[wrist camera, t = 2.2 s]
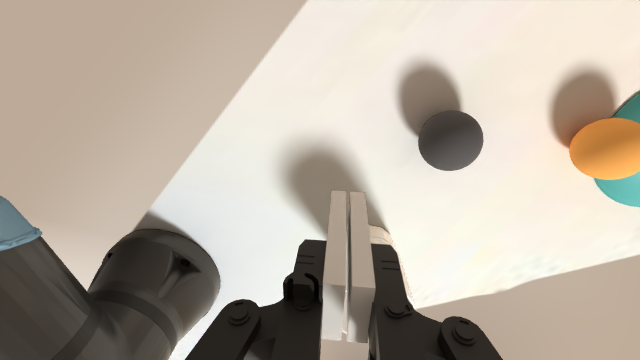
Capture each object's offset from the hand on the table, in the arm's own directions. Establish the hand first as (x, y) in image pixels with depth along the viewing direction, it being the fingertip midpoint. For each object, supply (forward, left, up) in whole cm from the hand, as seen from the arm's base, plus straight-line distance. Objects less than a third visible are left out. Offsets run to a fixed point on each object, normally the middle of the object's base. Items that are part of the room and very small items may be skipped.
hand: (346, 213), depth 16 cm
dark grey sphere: (+9, 0, -14) cm, 17 cm away
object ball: (+23, 0, -14) cm, 27 cm away
